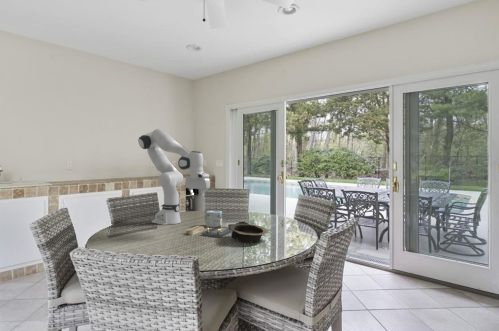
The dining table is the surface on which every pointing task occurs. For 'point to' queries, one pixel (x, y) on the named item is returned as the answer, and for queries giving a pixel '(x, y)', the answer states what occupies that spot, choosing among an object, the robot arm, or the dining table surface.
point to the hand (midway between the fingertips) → (197, 195)
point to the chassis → (217, 231)
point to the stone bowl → (247, 232)
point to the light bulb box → (213, 218)
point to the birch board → (195, 230)
